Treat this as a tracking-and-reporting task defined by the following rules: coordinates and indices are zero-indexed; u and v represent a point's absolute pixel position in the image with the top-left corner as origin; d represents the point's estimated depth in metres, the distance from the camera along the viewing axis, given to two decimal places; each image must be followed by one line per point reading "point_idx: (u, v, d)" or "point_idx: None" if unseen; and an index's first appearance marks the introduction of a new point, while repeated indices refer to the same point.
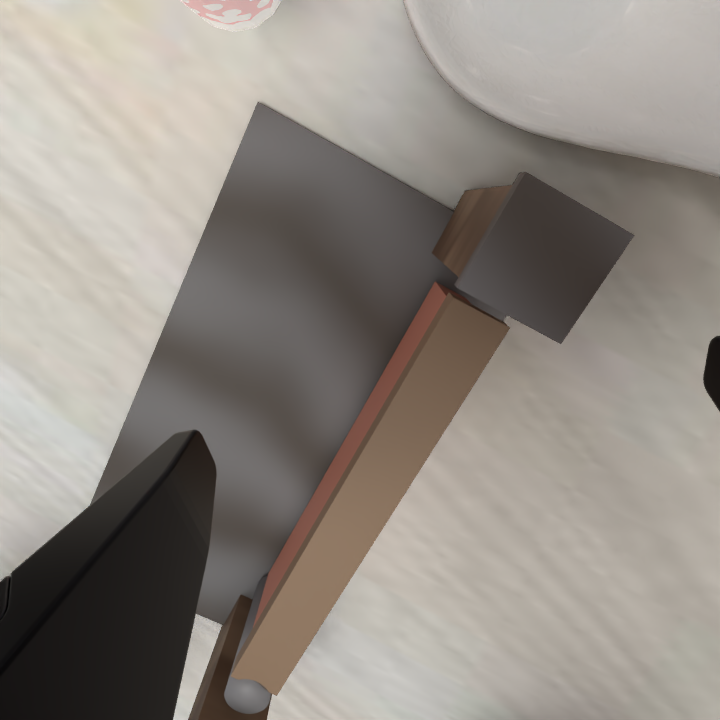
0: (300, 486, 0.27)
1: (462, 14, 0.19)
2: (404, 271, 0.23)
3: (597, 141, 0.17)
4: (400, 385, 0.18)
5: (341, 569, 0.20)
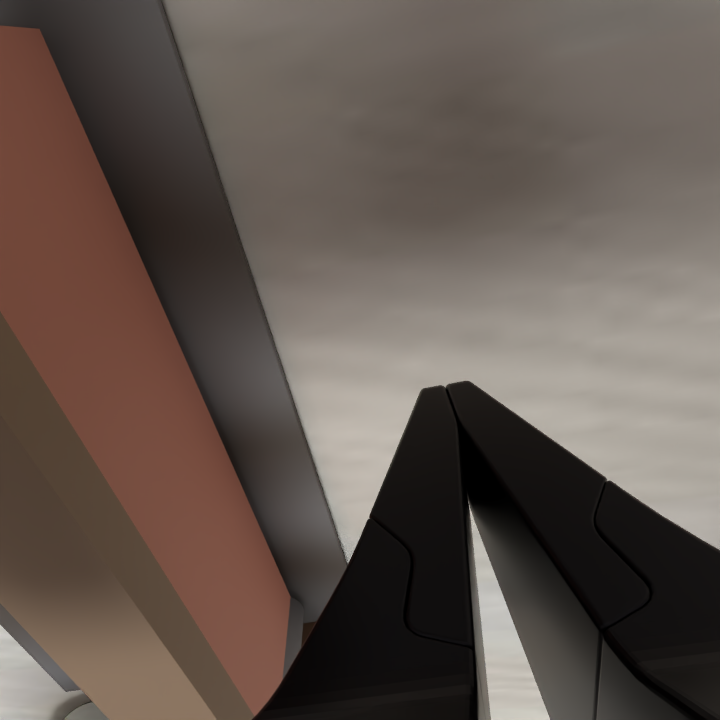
0: None
1: None
2: None
3: None
4: None
5: (157, 675, 0.10)
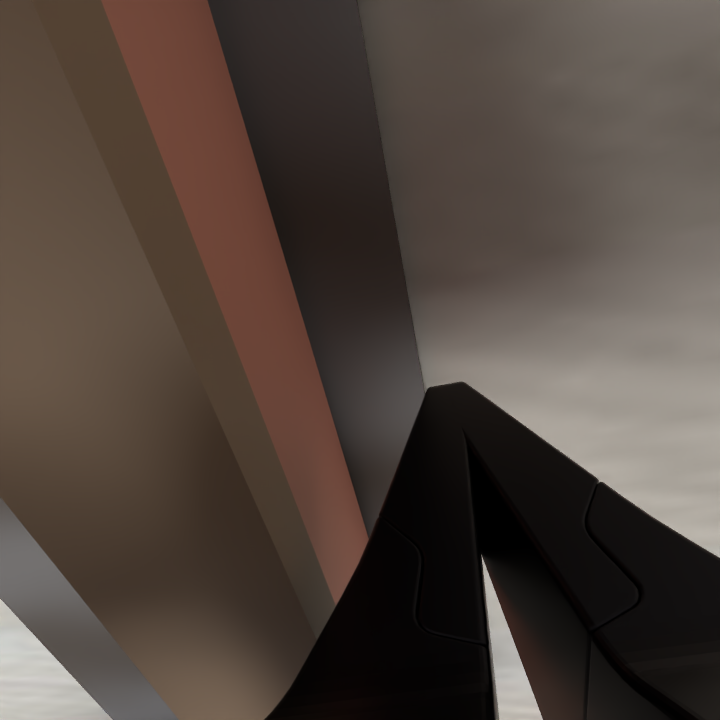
0: None
1: None
2: None
3: None
4: None
5: None
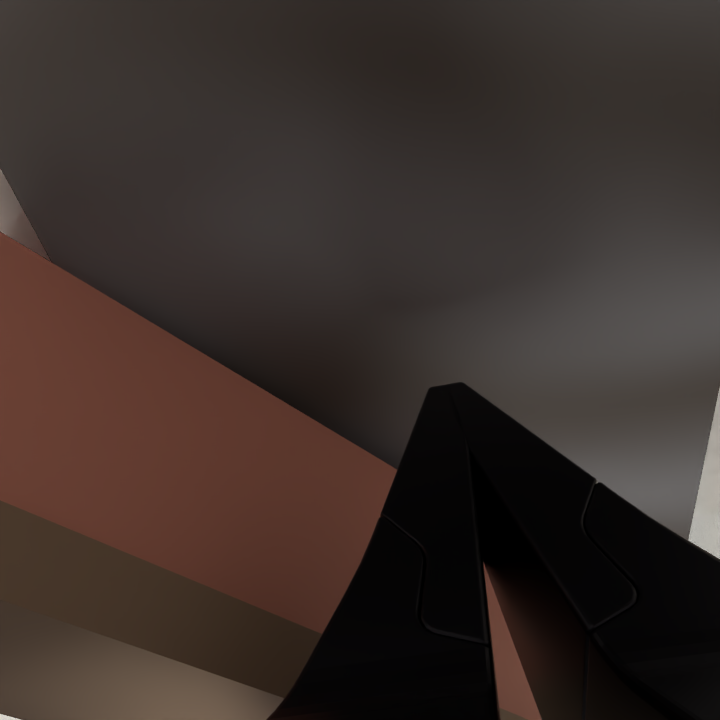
0: None
1: None
2: None
3: None
4: None
5: None
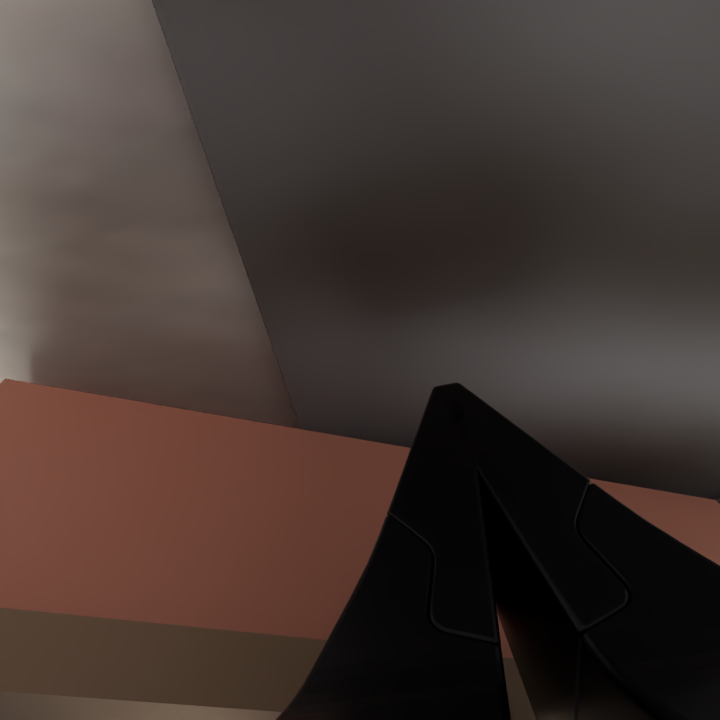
0: (691, 334, 0.12)
1: None
2: None
3: None
4: None
5: None
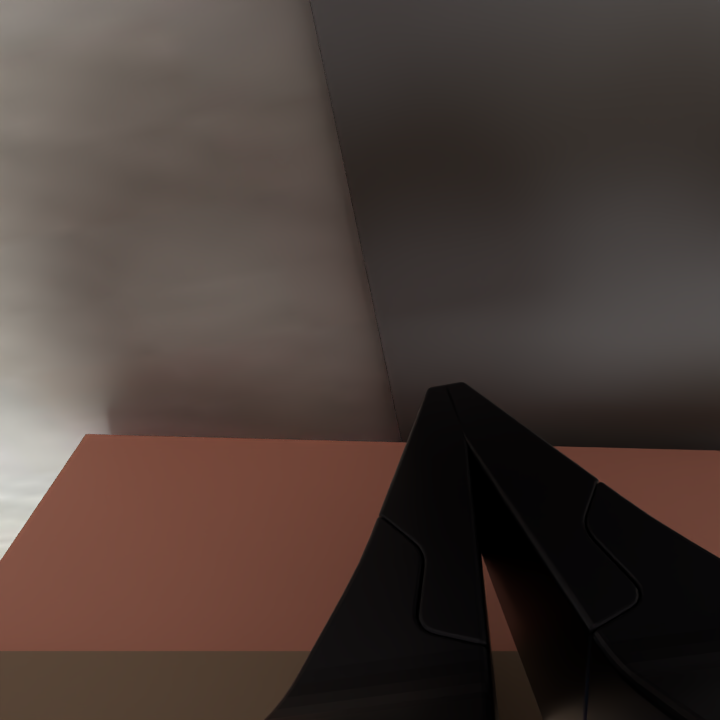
0: None
1: None
2: None
3: None
4: None
5: None
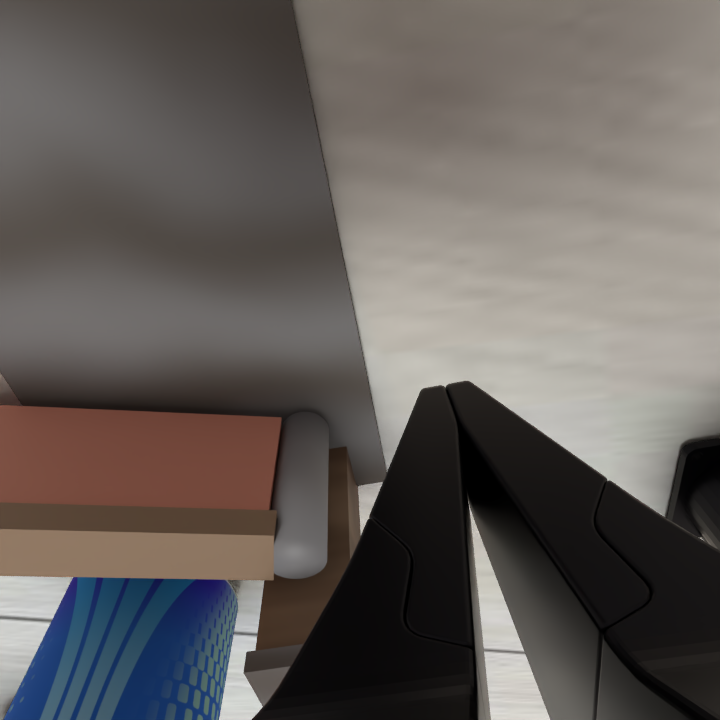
0: (225, 298, 0.19)
1: None
2: None
3: None
4: None
5: (30, 541, 0.15)
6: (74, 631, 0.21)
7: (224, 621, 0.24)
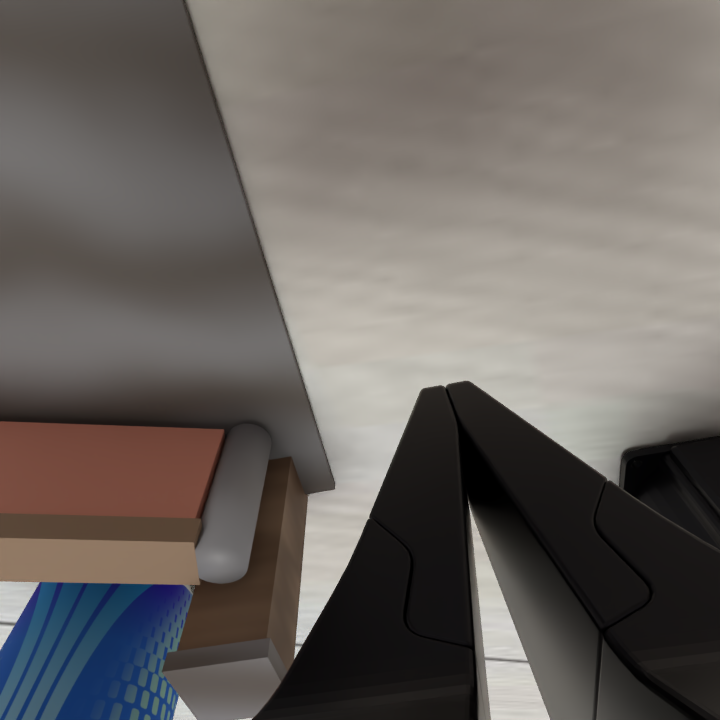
0: (162, 318, 0.20)
1: None
2: None
3: None
4: None
5: None
6: (31, 633, 0.22)
7: (180, 625, 0.25)
